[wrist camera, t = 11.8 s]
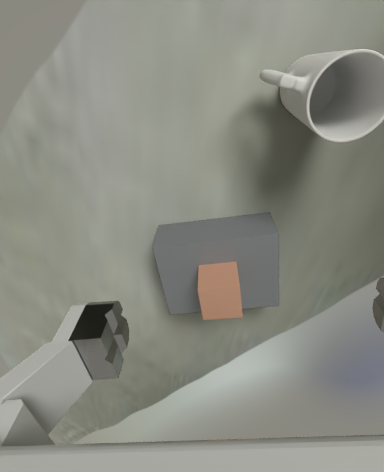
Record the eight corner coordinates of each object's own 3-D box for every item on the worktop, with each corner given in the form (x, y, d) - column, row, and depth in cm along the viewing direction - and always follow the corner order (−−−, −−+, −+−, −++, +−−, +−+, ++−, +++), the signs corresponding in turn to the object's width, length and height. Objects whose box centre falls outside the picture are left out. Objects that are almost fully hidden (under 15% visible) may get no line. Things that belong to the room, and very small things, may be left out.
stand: (269, 212, 42) (278, 234, 37) (271, 279, 48) (279, 305, 43) (158, 225, 44) (152, 247, 39) (173, 288, 50) (169, 314, 45)
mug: (350, 61, 33) (416, 63, 22) (321, 124, 36) (367, 151, 26) (261, 35, 32) (287, 24, 21) (241, 102, 35) (255, 121, 25)
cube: (236, 261, 39) (239, 286, 35) (239, 290, 42) (242, 317, 38) (198, 265, 40) (197, 290, 36) (203, 293, 42) (203, 320, 38)
